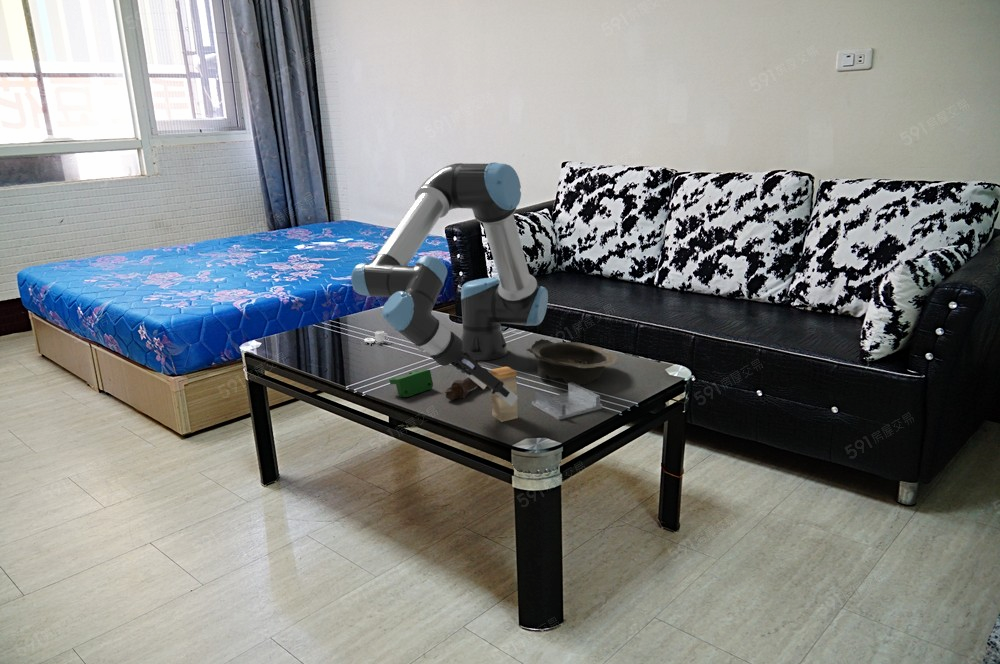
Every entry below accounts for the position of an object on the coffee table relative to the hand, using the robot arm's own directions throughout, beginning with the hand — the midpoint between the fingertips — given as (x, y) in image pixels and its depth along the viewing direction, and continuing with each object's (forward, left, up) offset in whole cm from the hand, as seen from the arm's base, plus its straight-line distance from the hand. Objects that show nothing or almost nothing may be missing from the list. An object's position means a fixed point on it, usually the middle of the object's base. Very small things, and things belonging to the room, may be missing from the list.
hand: (500, 392), depth 180 cm
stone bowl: (-16, +32, -7) cm, 37 cm away
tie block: (-1, +1, -7) cm, 7 cm away
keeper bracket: (+2, +17, -7) cm, 18 cm away
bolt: (-21, +1, -7) cm, 22 cm away
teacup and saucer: (-82, -1, -7) cm, 82 cm away
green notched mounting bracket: (-30, -11, -7) cm, 33 cm away
